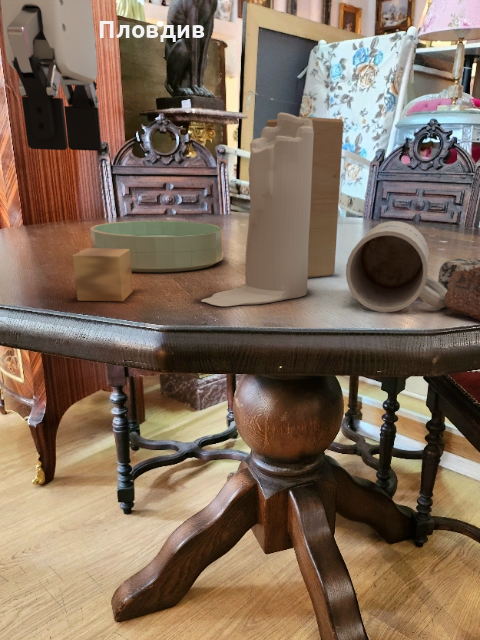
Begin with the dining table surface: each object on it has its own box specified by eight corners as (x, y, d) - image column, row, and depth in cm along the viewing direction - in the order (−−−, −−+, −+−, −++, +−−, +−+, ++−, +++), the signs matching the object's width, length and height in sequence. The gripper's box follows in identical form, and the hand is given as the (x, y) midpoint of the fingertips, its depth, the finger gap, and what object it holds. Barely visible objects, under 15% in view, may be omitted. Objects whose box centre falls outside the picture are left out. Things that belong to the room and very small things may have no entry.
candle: (189, 298, 64) (182, 104, 56) (279, 283, 73) (283, 114, 65) (228, 311, 59) (225, 101, 52) (319, 293, 68) (328, 112, 60)
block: (77, 300, 62) (71, 255, 60) (90, 290, 66) (86, 247, 64) (123, 301, 62) (119, 256, 60) (133, 291, 66) (129, 248, 65)
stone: (464, 273, 63) (452, 259, 61) (529, 270, 58) (518, 255, 56) (450, 326, 62) (437, 314, 60) (514, 328, 57) (503, 315, 55)
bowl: (76, 272, 76) (71, 234, 74) (112, 250, 94) (109, 219, 92) (217, 275, 77) (216, 238, 75) (226, 252, 95) (226, 222, 93)
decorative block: (262, 265, 85) (264, 119, 77) (294, 262, 87) (299, 122, 80) (302, 279, 76) (308, 116, 68) (336, 275, 79) (345, 119, 71)
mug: (343, 258, 70) (329, 273, 61) (392, 205, 66) (386, 213, 57) (413, 326, 71) (409, 350, 62) (465, 277, 67) (470, 296, 58)
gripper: (40, -43, 54) (61, 149, 60) (-61, -126, 38) (-18, 147, 44) (118, -39, 54) (131, 151, 61) (50, -120, 38) (77, 151, 45)
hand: (68, 149), depth 53 cm, fingers open, 9 cm apart
